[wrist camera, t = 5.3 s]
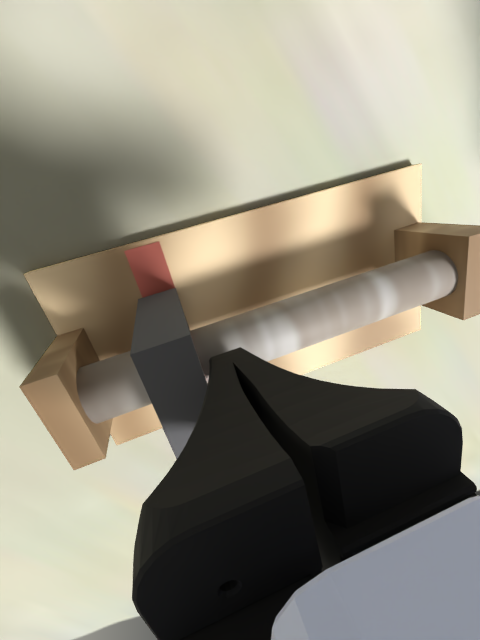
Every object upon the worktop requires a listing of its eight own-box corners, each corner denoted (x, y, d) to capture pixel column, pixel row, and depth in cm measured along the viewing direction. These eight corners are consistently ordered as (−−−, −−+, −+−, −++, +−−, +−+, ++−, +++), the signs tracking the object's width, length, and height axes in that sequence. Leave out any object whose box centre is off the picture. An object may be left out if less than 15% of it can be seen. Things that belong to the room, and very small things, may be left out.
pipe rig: (412, 164, 16) (511, 148, 12) (413, 326, 20) (487, 360, 16) (28, 271, 13) (-35, 304, 9) (118, 437, 17) (106, 519, 13)
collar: (175, 287, 14) (189, 334, 9) (205, 376, 16) (232, 457, 11) (138, 299, 14) (130, 354, 9) (173, 388, 16) (184, 477, 11)
